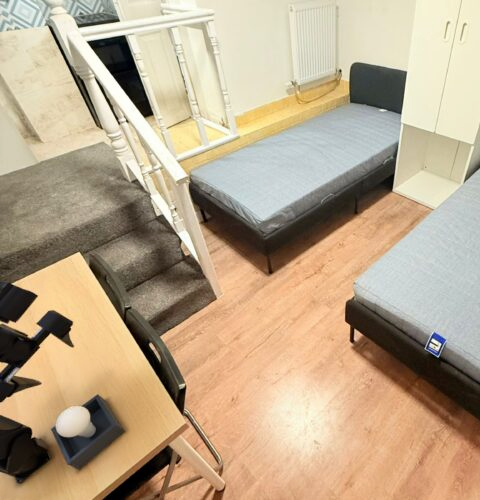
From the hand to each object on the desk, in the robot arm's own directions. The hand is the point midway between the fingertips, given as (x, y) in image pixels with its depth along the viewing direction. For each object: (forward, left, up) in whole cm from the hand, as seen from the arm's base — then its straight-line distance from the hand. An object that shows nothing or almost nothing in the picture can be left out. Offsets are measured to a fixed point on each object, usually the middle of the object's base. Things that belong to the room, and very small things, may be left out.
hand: (56, 364), depth 77 cm
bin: (-3, -12, -14) cm, 19 cm away
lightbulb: (-4, -12, -14) cm, 19 cm away
